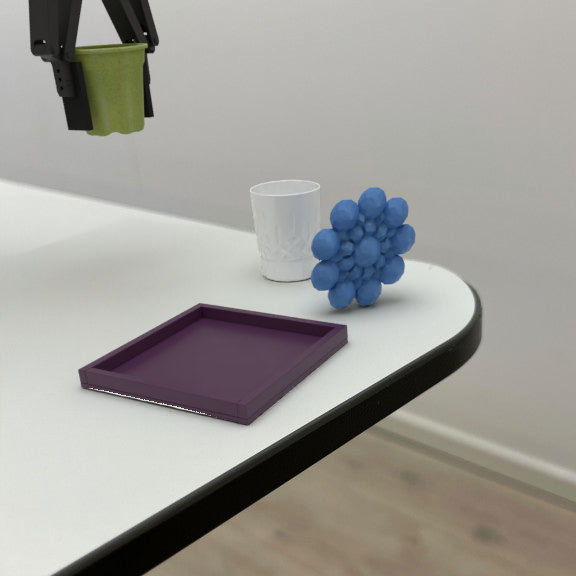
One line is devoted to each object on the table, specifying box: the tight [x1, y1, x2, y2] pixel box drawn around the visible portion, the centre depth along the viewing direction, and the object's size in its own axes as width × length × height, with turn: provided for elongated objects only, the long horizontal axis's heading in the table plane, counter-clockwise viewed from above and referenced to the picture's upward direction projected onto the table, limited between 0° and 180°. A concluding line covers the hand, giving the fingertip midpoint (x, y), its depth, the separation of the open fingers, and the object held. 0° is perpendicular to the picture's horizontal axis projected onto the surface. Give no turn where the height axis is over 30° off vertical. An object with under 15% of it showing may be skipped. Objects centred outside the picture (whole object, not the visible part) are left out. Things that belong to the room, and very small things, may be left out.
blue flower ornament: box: [309, 186, 416, 309], centre depth 77 cm, size 12×7×12 cm, turn 116°
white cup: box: [249, 179, 322, 283], centre depth 87 cm, size 8×8×10 cm
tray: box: [77, 302, 349, 426], centre depth 67 cm, size 17×17×2 cm
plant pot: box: [72, 43, 148, 137], centre depth 81 cm, size 9×9×9 cm
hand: (113, 123), depth 82 cm, fingers closed on plant pot, 9 cm apart
